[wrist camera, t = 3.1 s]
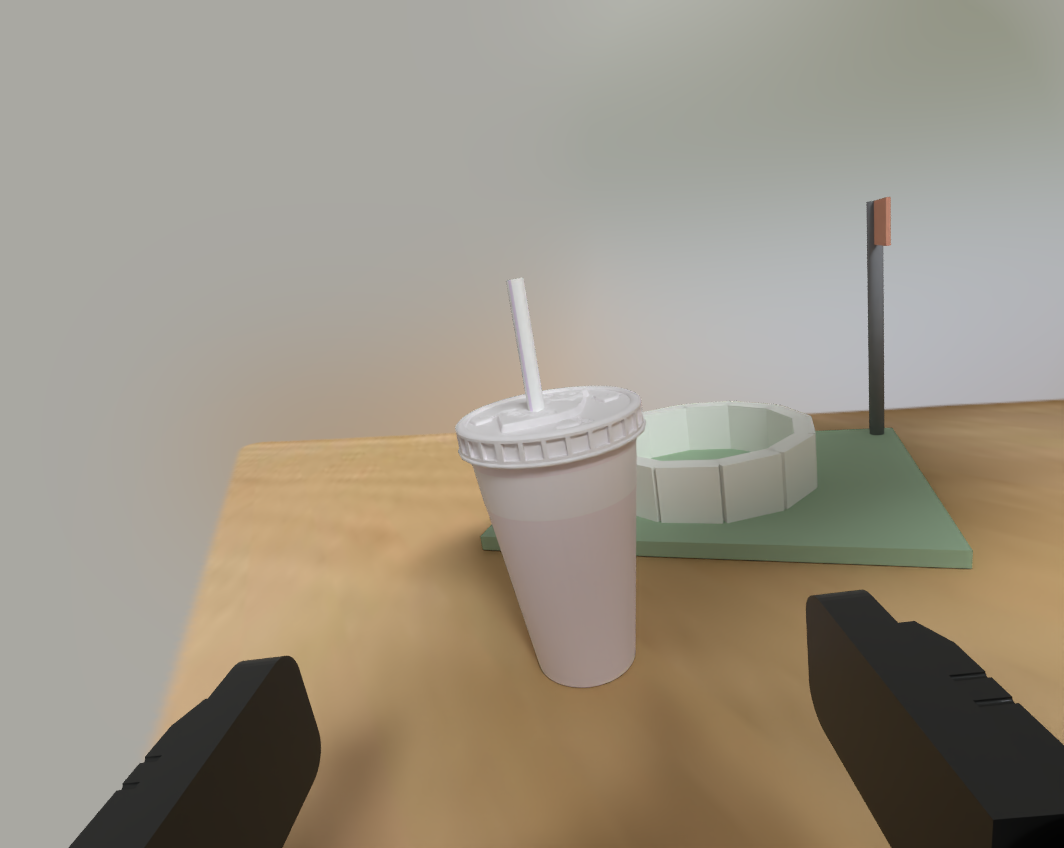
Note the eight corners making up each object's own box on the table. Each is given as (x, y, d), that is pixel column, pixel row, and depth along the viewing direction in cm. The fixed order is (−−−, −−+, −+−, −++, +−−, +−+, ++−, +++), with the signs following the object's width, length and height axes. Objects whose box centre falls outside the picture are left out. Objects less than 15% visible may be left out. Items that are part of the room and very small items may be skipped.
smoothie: (468, 680, 21) (382, 301, 18) (564, 590, 26) (511, 278, 22) (620, 745, 17) (549, 274, 14) (700, 626, 22) (662, 253, 18)
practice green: (892, 439, 37) (891, 198, 33) (972, 568, 23) (986, 172, 19) (570, 450, 45) (541, 260, 42) (482, 549, 31) (426, 275, 28)
